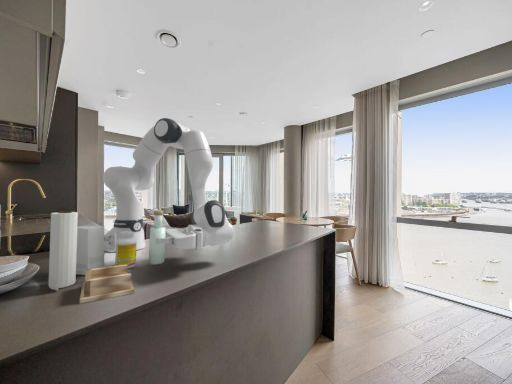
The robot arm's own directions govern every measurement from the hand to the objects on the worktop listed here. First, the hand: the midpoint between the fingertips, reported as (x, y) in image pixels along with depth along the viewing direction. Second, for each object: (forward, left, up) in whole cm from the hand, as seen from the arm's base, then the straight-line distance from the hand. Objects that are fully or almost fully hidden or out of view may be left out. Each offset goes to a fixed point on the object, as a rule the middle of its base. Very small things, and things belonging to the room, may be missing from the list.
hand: (154, 239), depth 80 cm
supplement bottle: (-13, -1, -12) cm, 18 cm away
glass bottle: (0, +1, -8) cm, 8 cm away
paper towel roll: (-13, -21, -12) cm, 28 cm away
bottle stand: (+1, -16, -12) cm, 20 cm away
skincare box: (-19, -11, -12) cm, 25 cm away
